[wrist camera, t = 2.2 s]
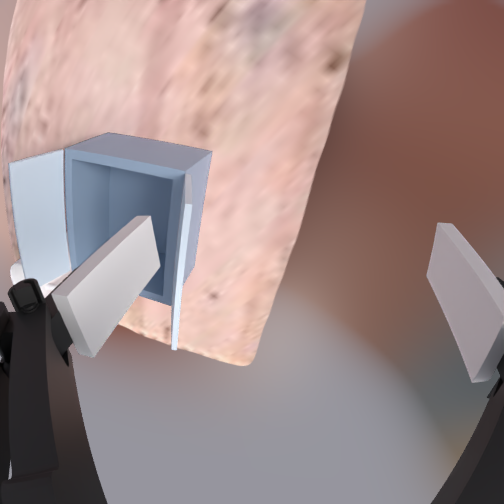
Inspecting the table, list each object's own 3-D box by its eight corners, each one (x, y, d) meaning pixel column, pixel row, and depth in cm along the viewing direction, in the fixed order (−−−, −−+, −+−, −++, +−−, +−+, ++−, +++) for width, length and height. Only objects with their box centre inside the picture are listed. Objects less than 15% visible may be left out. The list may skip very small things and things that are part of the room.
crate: (105, 239, 50) (71, 271, 41) (108, 132, 41) (65, 148, 32) (194, 266, 49) (171, 305, 41) (212, 151, 40) (185, 171, 32)
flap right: (171, 349, 34) (176, 349, 34) (185, 203, 25) (192, 204, 26) (171, 305, 40) (176, 306, 41) (185, 173, 32) (191, 174, 32)
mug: (97, 242, 51) (55, 281, 40) (97, 281, 55) (62, 321, 45) (48, 223, 51) (5, 255, 40) (50, 260, 55) (13, 294, 45)
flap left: (70, 270, 41) (68, 268, 41) (63, 150, 32) (61, 149, 32) (29, 292, 35) (27, 290, 35) (10, 164, 26) (8, 163, 26)
